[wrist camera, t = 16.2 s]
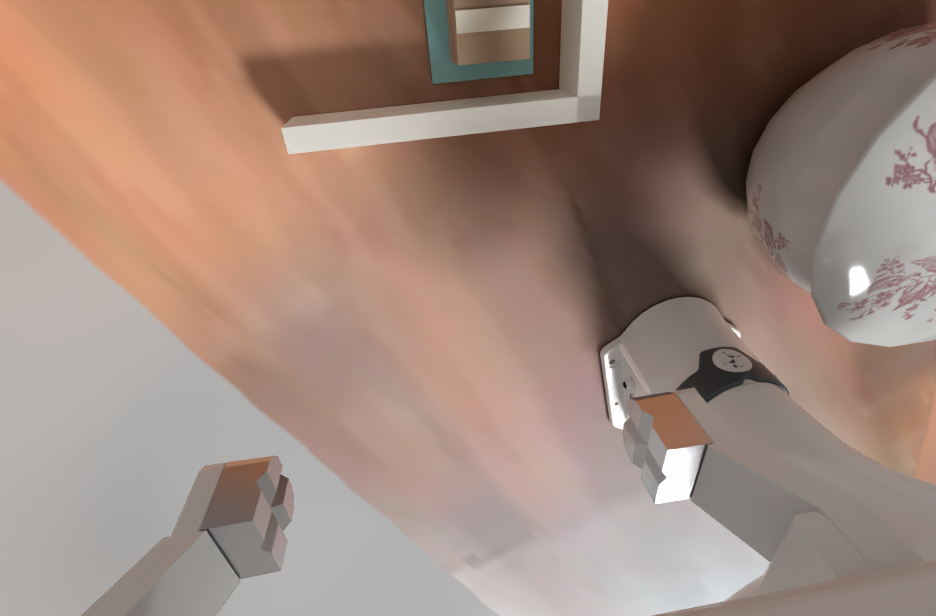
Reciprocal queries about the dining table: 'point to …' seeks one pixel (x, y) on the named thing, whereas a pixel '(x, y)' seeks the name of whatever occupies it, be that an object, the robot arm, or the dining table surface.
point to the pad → (451, 72)
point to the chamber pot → (857, 190)
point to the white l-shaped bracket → (477, 99)
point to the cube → (488, 30)
